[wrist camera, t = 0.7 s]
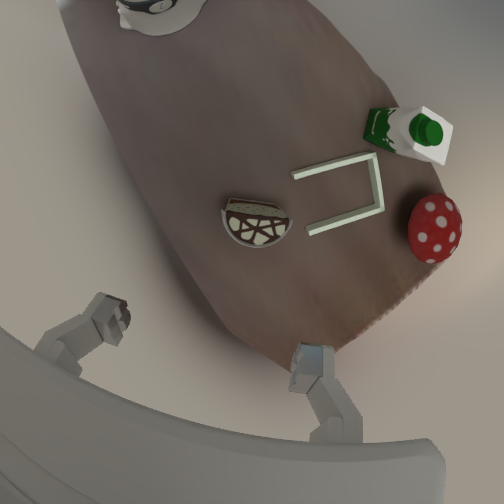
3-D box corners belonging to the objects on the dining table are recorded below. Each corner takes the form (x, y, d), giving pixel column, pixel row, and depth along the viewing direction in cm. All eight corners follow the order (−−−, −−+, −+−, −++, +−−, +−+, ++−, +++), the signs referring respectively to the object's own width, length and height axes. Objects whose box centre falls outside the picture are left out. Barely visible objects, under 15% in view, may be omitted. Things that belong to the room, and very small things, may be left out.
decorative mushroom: (380, 242, 60) (415, 273, 47) (395, 178, 53) (437, 196, 40) (426, 245, 62) (460, 273, 49) (440, 189, 55) (481, 208, 42)
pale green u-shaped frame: (290, 172, 51) (293, 174, 49) (369, 150, 50) (375, 152, 48) (305, 230, 57) (309, 235, 54) (378, 206, 56) (384, 210, 54)
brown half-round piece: (218, 226, 55) (217, 246, 46) (222, 196, 52) (221, 212, 43) (277, 232, 57) (287, 254, 48) (283, 204, 54) (295, 221, 45)
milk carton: (367, 103, 46) (429, 100, 28) (400, 119, 47) (465, 126, 29) (358, 141, 49) (417, 153, 31) (391, 154, 51) (454, 174, 33)
